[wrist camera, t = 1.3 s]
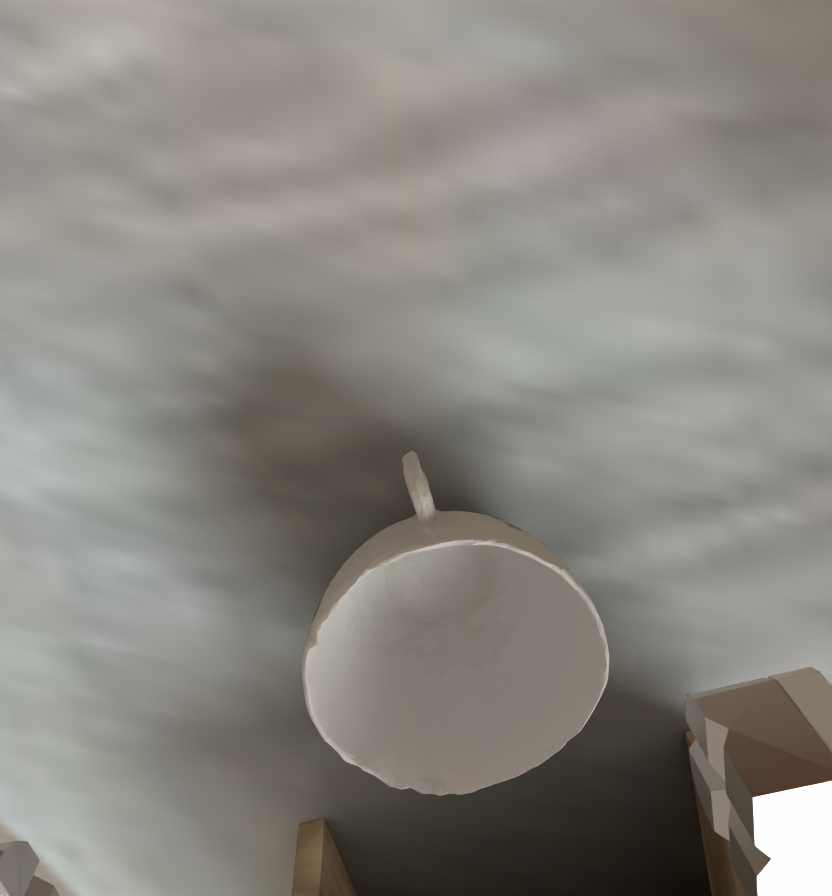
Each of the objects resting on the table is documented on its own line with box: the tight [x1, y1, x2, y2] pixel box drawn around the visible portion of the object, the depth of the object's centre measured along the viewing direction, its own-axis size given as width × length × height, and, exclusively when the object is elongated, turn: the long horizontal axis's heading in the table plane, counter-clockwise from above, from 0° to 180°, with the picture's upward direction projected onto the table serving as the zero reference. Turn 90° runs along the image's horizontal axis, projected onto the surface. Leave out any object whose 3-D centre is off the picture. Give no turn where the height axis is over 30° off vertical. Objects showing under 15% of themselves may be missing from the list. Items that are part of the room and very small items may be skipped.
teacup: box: [301, 451, 609, 796], centre depth 34 cm, size 15×12×8 cm
